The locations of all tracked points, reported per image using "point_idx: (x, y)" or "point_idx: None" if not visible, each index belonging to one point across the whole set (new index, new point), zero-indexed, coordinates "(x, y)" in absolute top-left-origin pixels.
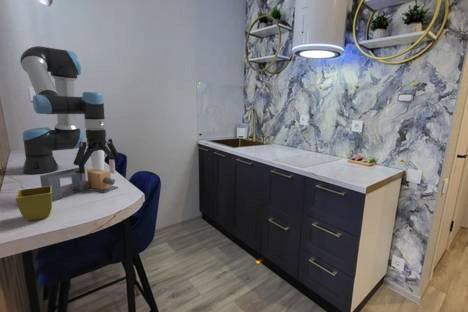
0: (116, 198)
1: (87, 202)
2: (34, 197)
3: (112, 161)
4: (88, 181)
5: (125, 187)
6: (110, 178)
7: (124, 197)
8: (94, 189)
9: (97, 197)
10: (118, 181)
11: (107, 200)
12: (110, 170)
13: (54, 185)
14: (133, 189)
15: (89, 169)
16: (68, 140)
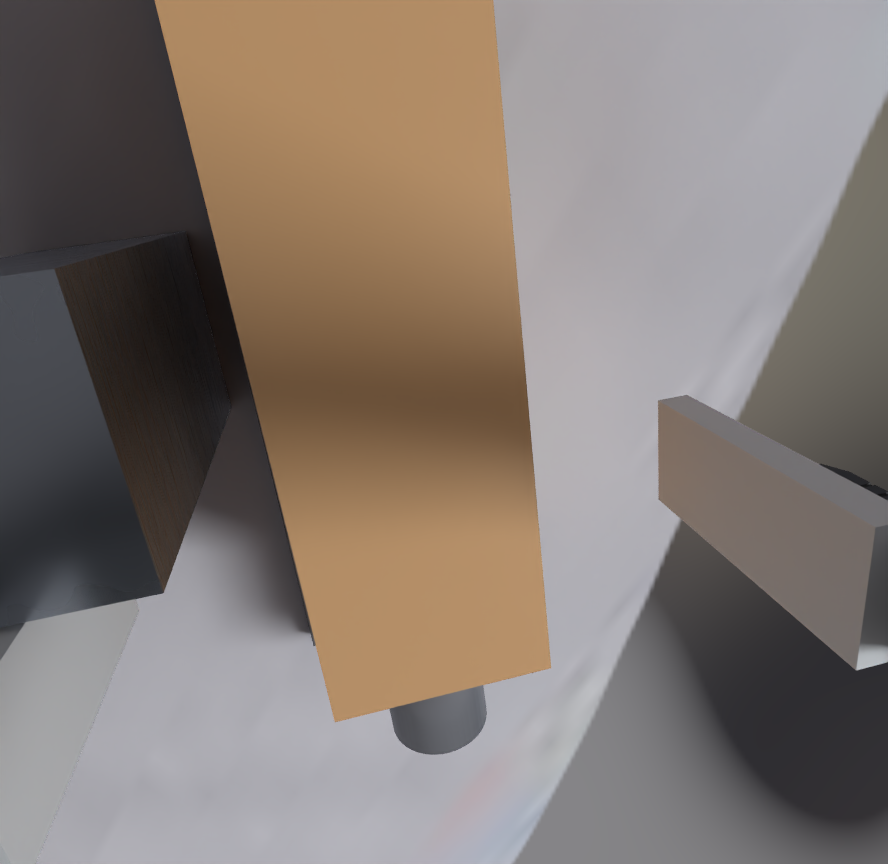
0: (309, 841)
1: None
2: None
3: (824, 626)
4: (211, 457)
5: (573, 619)
6: (441, 730)
7: (374, 858)
8: (273, 479)
9: (185, 713)
10: (695, 338)
11: (220, 840)
12: (683, 440)
13: None
14: (573, 725)
15: (386, 190)
16: None
